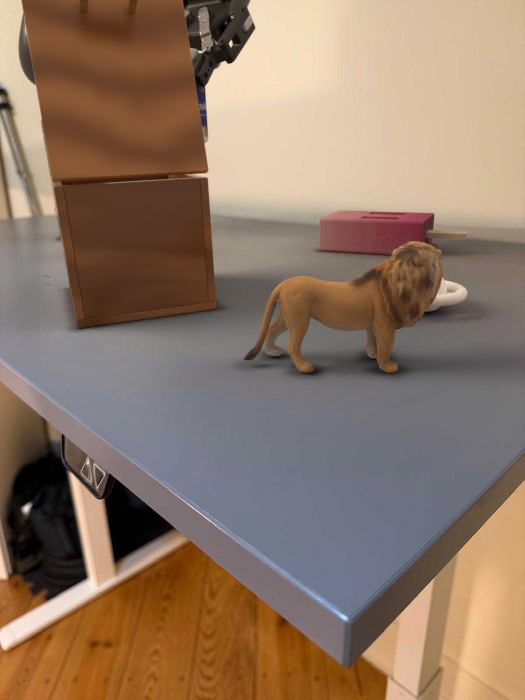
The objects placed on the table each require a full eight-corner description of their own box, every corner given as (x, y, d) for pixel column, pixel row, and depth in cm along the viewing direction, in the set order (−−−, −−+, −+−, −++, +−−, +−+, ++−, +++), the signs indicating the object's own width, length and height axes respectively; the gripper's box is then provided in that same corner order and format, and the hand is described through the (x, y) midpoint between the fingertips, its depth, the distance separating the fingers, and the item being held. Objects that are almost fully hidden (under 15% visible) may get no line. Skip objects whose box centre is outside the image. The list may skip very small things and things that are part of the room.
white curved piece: (369, 314, 51) (456, 326, 48) (372, 254, 49) (463, 262, 46) (393, 295, 58) (471, 304, 54) (397, 242, 56) (478, 247, 52)
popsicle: (464, 223, 70) (319, 218, 78) (460, 260, 71) (318, 251, 80) (472, 213, 77) (339, 209, 86) (469, 247, 79) (338, 240, 87)
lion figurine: (422, 345, 44) (432, 234, 41) (446, 371, 39) (459, 248, 36) (242, 353, 43) (237, 242, 40) (244, 382, 38) (238, 257, 35)
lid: (18, -18, 45) (10, -67, 39) (178, -9, 49) (191, -52, 44) (52, 182, 46) (49, 161, 41) (206, 173, 50) (222, 153, 45)
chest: (69, 288, 64) (50, 176, 59) (181, 275, 68) (172, 169, 64) (77, 328, 50) (53, 186, 46) (216, 308, 55) (208, 177, 50)
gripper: (161, -37, 66) (104, 65, 61) (262, -59, 60) (208, 53, 55) (190, 19, 73) (141, 116, 68) (285, 5, 66) (238, 110, 61)
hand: (171, 87), depth 61 cm, fingers closed on pill bottle, 5 cm apart
